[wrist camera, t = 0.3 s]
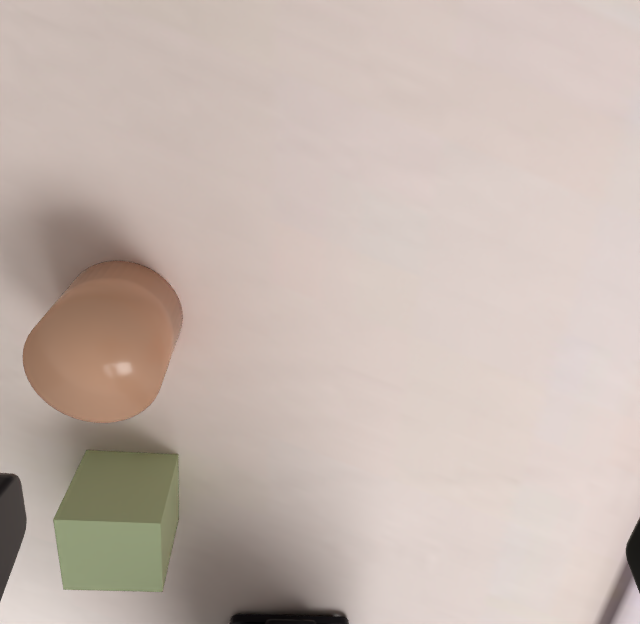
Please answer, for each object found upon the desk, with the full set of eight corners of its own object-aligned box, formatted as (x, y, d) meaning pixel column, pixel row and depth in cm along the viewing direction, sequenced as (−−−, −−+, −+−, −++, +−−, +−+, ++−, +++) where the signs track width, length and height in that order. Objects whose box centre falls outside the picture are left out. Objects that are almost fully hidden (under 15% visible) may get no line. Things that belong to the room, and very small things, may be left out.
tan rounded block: (182, 364, 23) (163, 425, 19) (72, 357, 22) (31, 419, 19) (182, 265, 21) (161, 313, 17) (61, 255, 20) (13, 303, 17)
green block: (178, 517, 27) (162, 592, 23) (93, 513, 26) (63, 589, 23) (178, 453, 25) (160, 523, 21) (87, 448, 25) (53, 519, 21)
